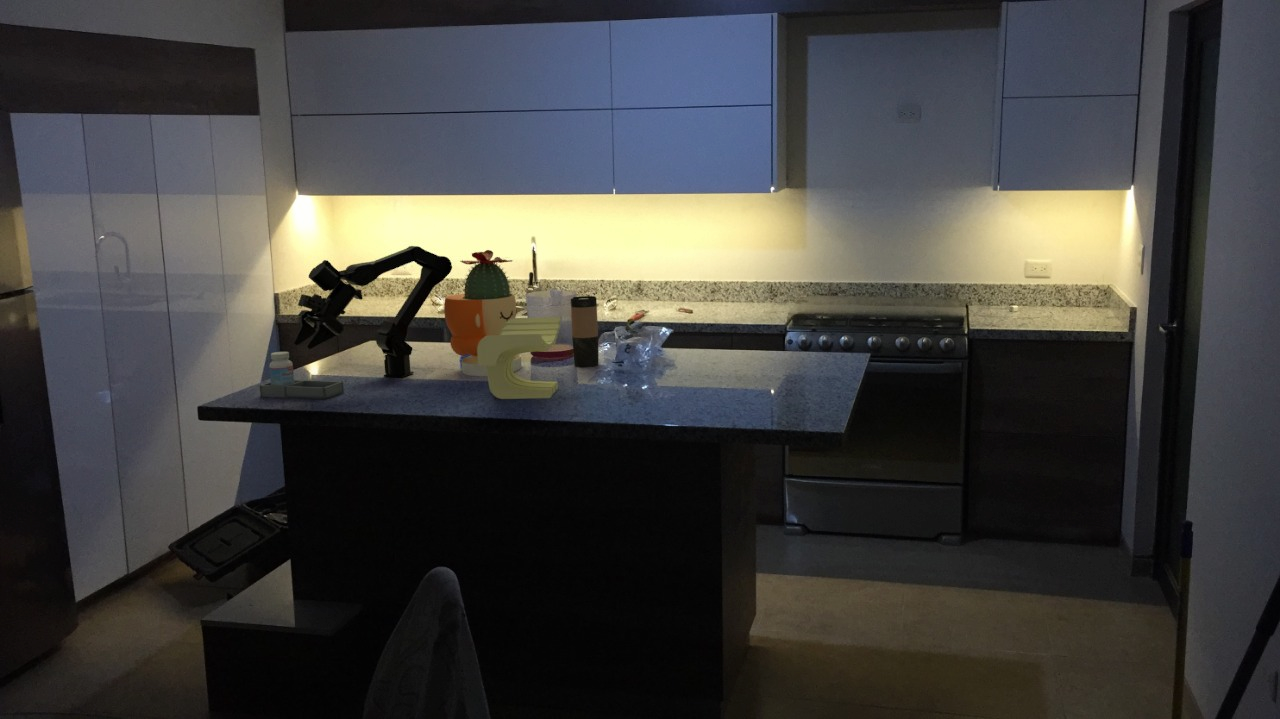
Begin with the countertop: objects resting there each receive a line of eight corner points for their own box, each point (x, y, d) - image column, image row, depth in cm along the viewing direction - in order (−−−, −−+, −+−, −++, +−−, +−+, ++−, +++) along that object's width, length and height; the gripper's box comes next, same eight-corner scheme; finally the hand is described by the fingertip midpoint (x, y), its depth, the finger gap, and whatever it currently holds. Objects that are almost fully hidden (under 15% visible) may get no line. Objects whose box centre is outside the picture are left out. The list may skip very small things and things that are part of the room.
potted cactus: (529, 362, 333) (523, 246, 326) (508, 376, 311) (501, 252, 305) (461, 362, 336) (454, 248, 330) (436, 376, 315) (427, 254, 309)
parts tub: (343, 392, 296) (342, 381, 296) (325, 399, 288) (324, 387, 288) (280, 390, 303) (279, 379, 302) (260, 396, 295) (259, 385, 295)
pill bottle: (288, 396, 294) (284, 354, 292) (267, 396, 295) (263, 354, 293) (299, 391, 300) (295, 351, 298) (279, 391, 301) (275, 351, 299)
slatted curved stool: (506, 382, 302) (502, 318, 299) (563, 381, 301) (560, 317, 298) (480, 406, 273) (476, 335, 270) (544, 405, 271) (540, 334, 268)
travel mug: (604, 364, 324) (601, 297, 320) (582, 368, 319) (579, 299, 316) (590, 361, 330) (587, 295, 326) (568, 364, 326) (565, 297, 322)
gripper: (302, 281, 307) (266, 324, 302) (329, 285, 292) (292, 331, 288) (331, 306, 313) (296, 349, 308) (359, 311, 299) (323, 356, 294)
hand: (301, 346), depth 299 cm, fingers open, 9 cm apart
